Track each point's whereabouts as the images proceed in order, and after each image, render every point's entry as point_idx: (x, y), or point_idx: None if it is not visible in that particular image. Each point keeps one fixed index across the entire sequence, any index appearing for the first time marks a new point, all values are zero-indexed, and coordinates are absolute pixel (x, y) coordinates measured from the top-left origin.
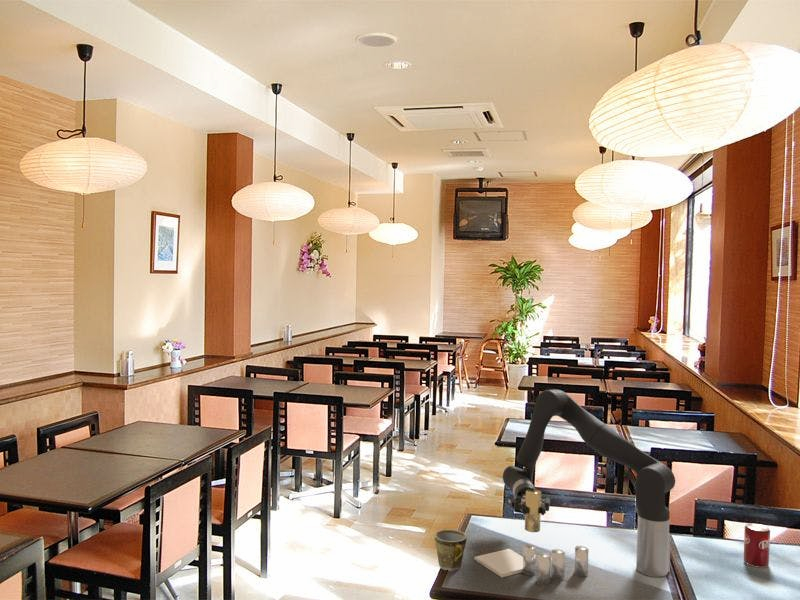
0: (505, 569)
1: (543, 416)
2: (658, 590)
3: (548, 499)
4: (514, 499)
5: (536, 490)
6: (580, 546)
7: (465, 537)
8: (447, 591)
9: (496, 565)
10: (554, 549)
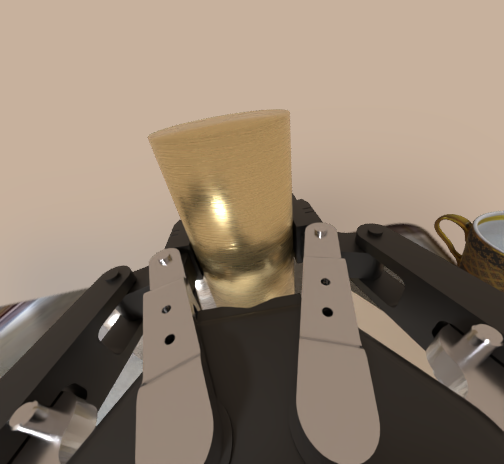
0: None
1: None
2: (48, 303)
3: (8, 384)
4: (432, 277)
5: (174, 136)
6: (113, 318)
7: (486, 240)
8: (402, 226)
9: (365, 319)
10: (204, 280)
